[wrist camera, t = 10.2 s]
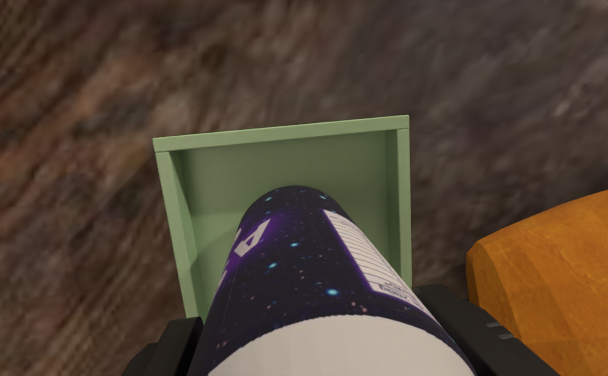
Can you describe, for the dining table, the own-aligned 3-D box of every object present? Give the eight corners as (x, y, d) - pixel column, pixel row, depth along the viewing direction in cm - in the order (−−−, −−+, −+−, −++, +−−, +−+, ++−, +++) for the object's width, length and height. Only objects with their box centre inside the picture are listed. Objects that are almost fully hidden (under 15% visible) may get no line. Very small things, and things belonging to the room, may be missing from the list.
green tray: (168, 136, 15) (151, 138, 13) (391, 116, 16) (409, 114, 14) (204, 337, 17) (195, 366, 15) (397, 310, 18) (413, 334, 16)
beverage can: (258, 166, 15) (206, 314, 3) (363, 202, 16) (622, 421, 4) (223, 269, 16) (81, 681, 4) (325, 297, 17) (447, 702, 5)
